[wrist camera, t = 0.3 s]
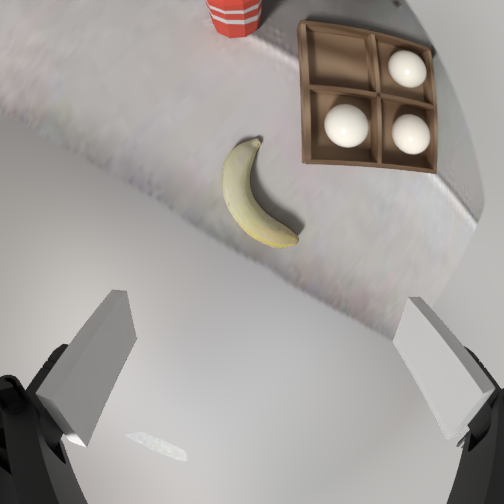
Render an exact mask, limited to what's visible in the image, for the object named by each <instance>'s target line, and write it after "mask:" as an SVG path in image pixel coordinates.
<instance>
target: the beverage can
mask: <svg viewBox="0 0 504 504" xmlns="http://www.w3.org/2000/svg"><path fill="white" fill-rule="evenodd" d="M206 3H207V6H208V9H209V12H210V15H211V18H212V22H213V24H214V26H215V28H216V30H217V32H218V33H220V34H222V35H225V36H227V37H229V38H237V37H246V36H247V35H249V34H251V33H252V32H254V31H255V30H257V28H258V25H259V22H260V19H261V8H262V0H206Z"/></svg>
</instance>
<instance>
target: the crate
mask: <svg viewBox="0 0 504 504" xmlns="http://www.w3.org/2000/svg"><path fill="white" fill-rule="evenodd" d="M297 36H298V51H299V68H300V90H301V122H302V163H305V164H324V165H347V166H363V167H377V168H388V169H399V170H408V171H417V172H425V173H432V174H436V172H437V140H438V135H437V104H436V90H435V79H434V70H433V63H432V56H431V50H430V48H429V47H426V46H423V45H420V44H417V43H414V42H411V41H408V40H405V39H401V38H398V37H394V36H390V35H387V34H383V33H379V32H374V31H370V30H365V29H360V28H355V27H350V26H344V25H338V24H331V23H323V22H315V21H304V20H300V22H299V25H298V27H297ZM402 50H405V51H410V52H413V53H415V54H416V55H418V56H419V57H420V58H421V59H422V61H423V62H424V64H425V66H426V71H427V74H426V78H425V81H424V82H423V83H422V84H421V85H420V86H418V87H414V88H408V87H404V86H401V85H400V84H398V83H397V82H396V81H395V80H394V79H393V78H392V77H391V75H390V73H389V70H388V61H389V59H390V57H391V56H392V55H393V54H394V53H395V52H397V51H402ZM340 104H349V105H353V106H355V107H357V108H359V109H360V110H361V111H362V112H363V113H364V114H365V116H366V118H367V120H368V124H369V131H368V135H367V137H366V138H365V140H364V141H363V142H362V143H361V144H359V145H357V146H355V147H350V148H347V147H342V146H339V145H337V144H335V143H334V142H332V141H331V140H330V138H329V137H328V136H327V134H326V131H325V128H324V121H325V117H326V115H327V113H328V112H329V110H330V109H332V108H333V107H335V106H337V105H340ZM405 114H412V115H416V116H418V117H420V118H421V119H422V120H423V121H424V122H425V123H426V124H427V126H428V128H429V131H430V142H429V145H428V147H427V148H426V149H425V150H424V151H423V152H421V153H419V154H407V153H405V152H403V151H401V150H400V149H399V148H398V147H397V146H396V144H395V143H394V141H393V138H392V133H391V131H392V126H393V123H394V121H395V120H396V119H397V118H398V117H400V116H402V115H405Z"/></svg>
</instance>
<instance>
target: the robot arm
mask: <svg viewBox="0 0 504 504" xmlns="http://www.w3.org/2000/svg"><path fill="white" fill-rule="evenodd" d="M136 340H137V338H136V333H135V329H134V325H133V320H132V315H131V310H130V305H129V300H128V295H127V291H121V290H112V291H111V292H110V293H109V294H108V295H107V297H106V298H105V299H104V300H103V302H102V303H101V304H100V306H99V307H98V308H97V309H96V310H95V312H94V313H93V314H92V316H91V317H90V318H89V319H88V320H87V322H86V323H85V324H84V326H83V327H82V328H81V329H80V331H79V332H78V334H77V335H76V336H75V337H74V339H73V340H72V342H71V343H70V344H69V345H67V344H62V345H61V346H60V347H58V348H57V349H56V350H54V351H53V353H52V354H51V355H50V357H49V358H48V361H46V362H45V363H44V365H43V368H41V369H40V370H39V372H38V373H37V374H36V376H35V377H34V379H33V380H32V382H31V383H30V385H29V386H28V387H27V389H26V390H25V389H24V388H23V386H22V385H21V383H20V381H19V380H18V379H17V378H16V377H15V376H12V375H4V376H2V377H0V504H88V503H87V501H86V499H85V497H84V495H83V493H82V491H81V488H80V486H79V484H78V482H77V479H76V477H75V474H74V472H73V469H72V467H71V464H70V461H69V459H68V456H67V453H66V450H65V447H64V444H63V442H62V440H61V437H62V435H63V433H64V434H65V436H66V437H67V438H68V439H69V441H71V442H73V443H76V444H79V445H82V446H84V447H87V446H88V443H89V441H90V439H91V436H92V434H93V431H94V429H95V427H96V424H97V422H98V420H99V418H100V415H101V413H102V411H103V408H104V406H105V404H106V402H107V400H108V397H109V395H110V393H111V391H112V389H113V387H114V384H115V382H116V380H117V378H118V376H119V374H120V372H121V370H122V368H123V366H124V364H125V361H126V360H127V357H128V355H129V353H130V351H131V349H132V347H133V345H134V343H135V342H136ZM393 343H394V345H395V347H396V348H397V350H398V352H399V353H400V355H401V357H402V358H403V360H404V362H405V363H406V365H407V367H408V368H409V370H410V372H411V374H412V376H413V377H414V379H415V381H416V383H417V384H418V386H419V388H420V390H421V391H422V393H423V395H424V397H425V399H426V401H427V403H428V404H429V406H430V408H431V410H432V412H433V414H434V416H435V418H436V420H437V422H438V424H439V426H440V428H441V430H442V432H443V434H444V436H445V438H446V440H447V439H450V438H452V437H454V436H457V435H459V434H460V433H461V432H462V431H463V430H464V429H465V427H466V426H467V425H468V427H469V429H470V430H469V431H468V432H467V433H466V435H465V436H464V437H463V438H462V439H461V440H460V441H459V442H458V444H457V447H459V446H460V445H461V443H462V442H463V441H465V442H464V445H463V446H462V447H461V448H463V451H462V455H461V459H460V463H459V467H458V470H457V474H456V477H455V480H454V484H453V487H452V490H451V493H450V495H449V498H448V501H447V504H504V388H503V389H501V388H500V387H499V385H498V384H497V383H496V381H495V380H494V378H493V377H492V376H491V375H490V373H489V372H488V371H487V369H486V368H484V365H483V364H482V363H481V362H479V359H478V358H477V357H476V355H475V354H474V353H473V352H472V351H470V350H469V349H468V348H466V347H465V346H463V345H462V344H461V343H460V341H459V340H458V339H457V338H456V337H455V335H454V334H453V333H452V332H451V331H450V330H449V328H447V326H446V325H445V324H444V323H443V321H442V320H441V319H440V318H439V317H438V316H437V315H436V314H435V312H434V311H433V310H432V309H431V308H430V307H429V306H428V305H427V304H426V303H425V301H424V300H423V299H422V298H421V297H408V300H407V303H406V306H405V309H404V312H403V315H402V318H401V321H400V324H399V327H398V329H397V332H396V335H395V337H394V340H393Z"/></svg>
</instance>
